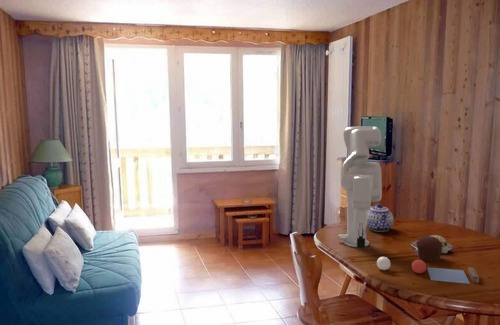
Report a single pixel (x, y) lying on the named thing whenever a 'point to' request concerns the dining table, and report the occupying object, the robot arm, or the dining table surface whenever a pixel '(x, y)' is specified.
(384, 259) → the cue ball
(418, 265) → the red ball
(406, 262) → the dining table surface
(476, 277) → the stopper wall
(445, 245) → the seashell
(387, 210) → the teapot
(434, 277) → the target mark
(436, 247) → the muffin
